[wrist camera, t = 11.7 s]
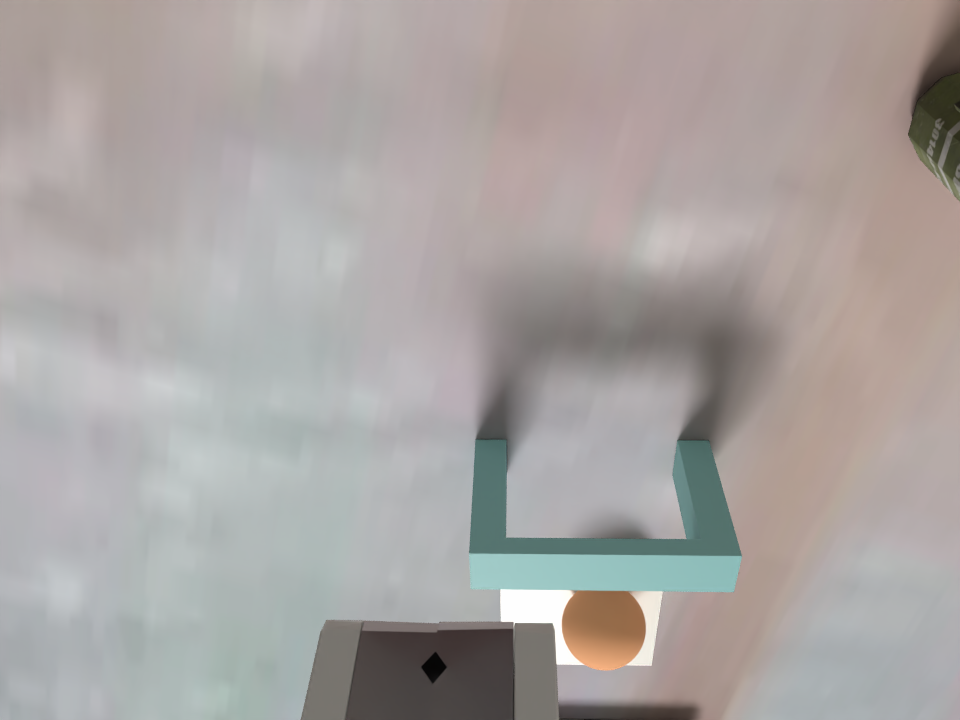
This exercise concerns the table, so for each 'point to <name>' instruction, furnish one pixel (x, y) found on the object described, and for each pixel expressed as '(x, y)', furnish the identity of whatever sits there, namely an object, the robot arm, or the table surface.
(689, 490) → the bridge
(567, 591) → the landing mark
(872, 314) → the table surface
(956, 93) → the grenade
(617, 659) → the ball
